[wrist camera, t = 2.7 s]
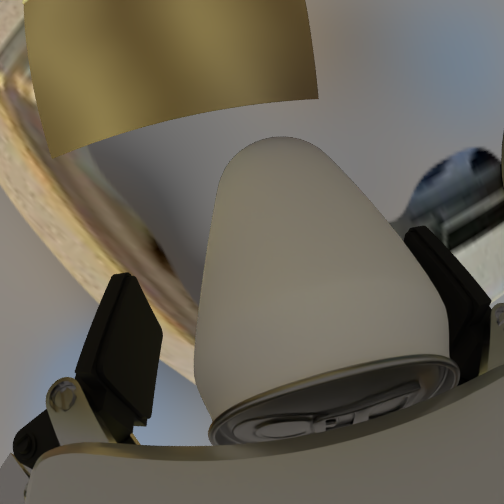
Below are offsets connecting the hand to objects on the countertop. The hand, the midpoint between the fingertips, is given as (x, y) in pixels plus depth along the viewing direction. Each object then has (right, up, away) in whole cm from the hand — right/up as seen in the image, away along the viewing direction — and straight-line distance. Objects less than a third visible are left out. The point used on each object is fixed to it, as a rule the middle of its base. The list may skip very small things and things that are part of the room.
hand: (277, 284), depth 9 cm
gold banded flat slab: (-6, +16, -3) cm, 17 cm away
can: (+1, +4, +6) cm, 7 cm away
